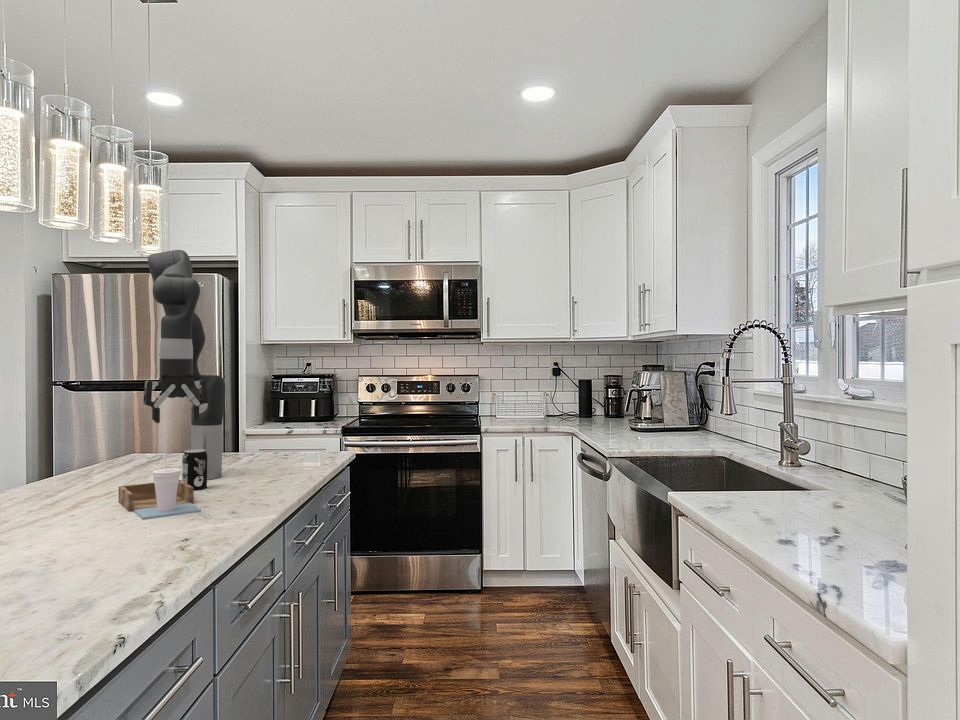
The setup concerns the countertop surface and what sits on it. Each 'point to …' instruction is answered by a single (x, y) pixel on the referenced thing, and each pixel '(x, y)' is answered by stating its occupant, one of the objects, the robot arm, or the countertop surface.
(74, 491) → the countertop surface
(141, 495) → the tray
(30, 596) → the countertop surface
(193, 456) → the beverage can
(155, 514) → the flat blue panel
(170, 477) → the smoothie
